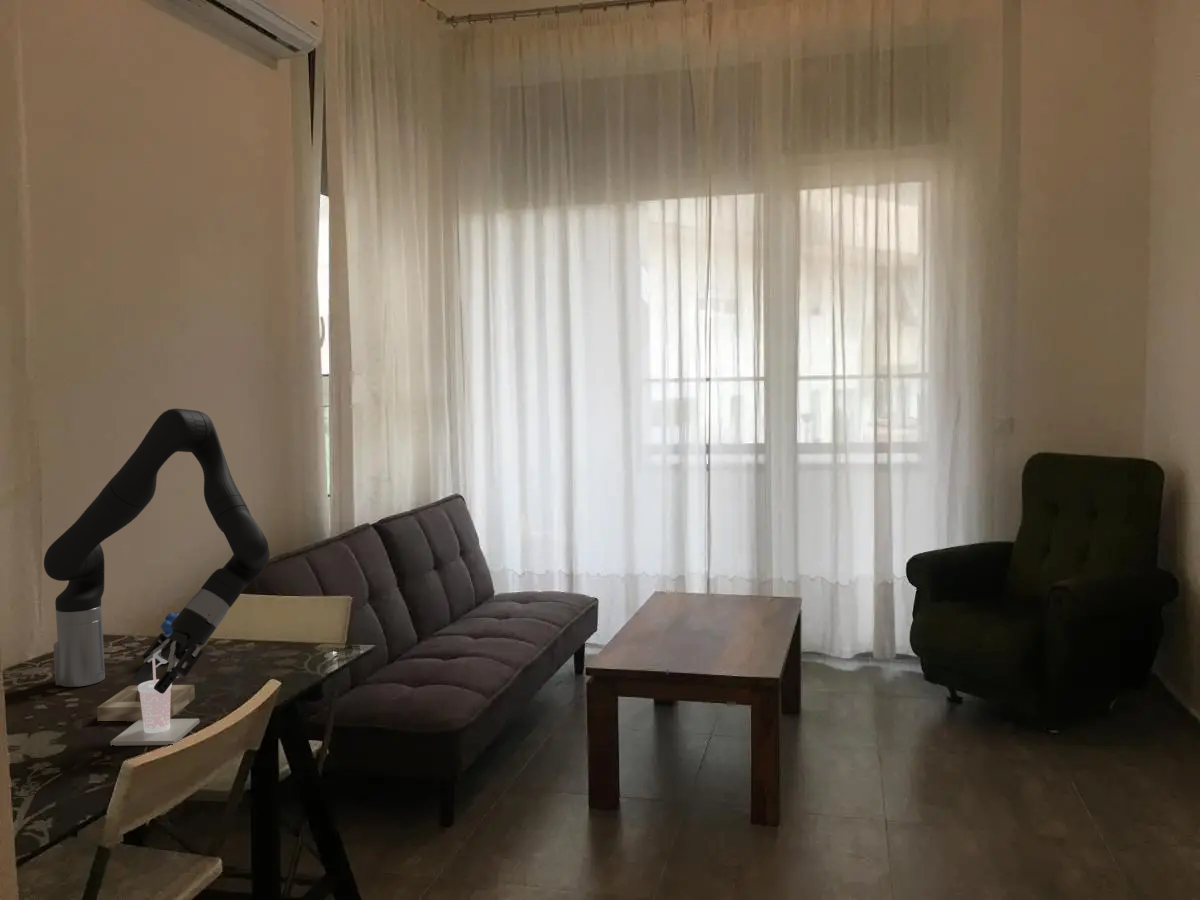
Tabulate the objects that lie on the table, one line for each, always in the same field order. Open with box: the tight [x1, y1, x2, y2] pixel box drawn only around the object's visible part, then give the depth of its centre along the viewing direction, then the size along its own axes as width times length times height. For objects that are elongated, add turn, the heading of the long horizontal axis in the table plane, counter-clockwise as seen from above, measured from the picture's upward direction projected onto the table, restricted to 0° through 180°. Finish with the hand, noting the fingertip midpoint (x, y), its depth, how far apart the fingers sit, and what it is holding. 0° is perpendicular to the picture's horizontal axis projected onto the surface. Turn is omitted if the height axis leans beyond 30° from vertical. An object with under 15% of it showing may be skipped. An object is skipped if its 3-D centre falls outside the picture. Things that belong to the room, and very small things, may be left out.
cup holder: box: [96, 684, 196, 723], centre depth 207 cm, size 14×14×3 cm
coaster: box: [109, 718, 201, 747], centre depth 193 cm, size 12×12×1 cm
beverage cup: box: [137, 658, 173, 733], centre depth 193 cm, size 6×6×14 cm
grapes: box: [160, 612, 180, 637], centre depth 243 cm, size 12×7×12 cm, turn 179°
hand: (147, 687), depth 191 cm, fingers open, 8 cm apart
